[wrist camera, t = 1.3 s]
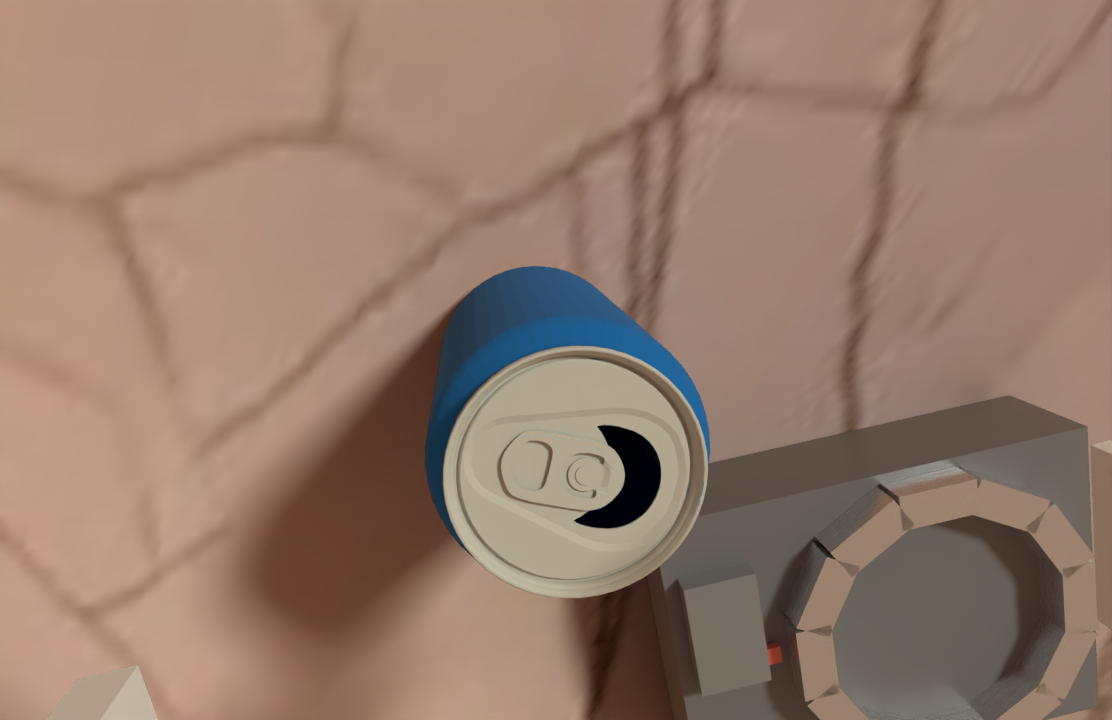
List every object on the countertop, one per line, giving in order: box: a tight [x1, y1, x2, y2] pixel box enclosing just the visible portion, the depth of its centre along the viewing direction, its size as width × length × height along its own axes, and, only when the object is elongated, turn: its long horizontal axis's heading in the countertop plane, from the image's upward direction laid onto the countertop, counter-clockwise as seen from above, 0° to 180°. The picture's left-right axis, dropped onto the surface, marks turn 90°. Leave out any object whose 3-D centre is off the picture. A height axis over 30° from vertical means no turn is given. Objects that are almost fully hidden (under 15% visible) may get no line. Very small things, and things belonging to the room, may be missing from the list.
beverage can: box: [425, 266, 710, 598], centre depth 23 cm, size 6×6×12 cm
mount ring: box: [782, 466, 1099, 720], centre depth 27 cm, size 10×10×1 cm
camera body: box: [647, 395, 1098, 720], centre depth 29 cm, size 15×11×5 cm
